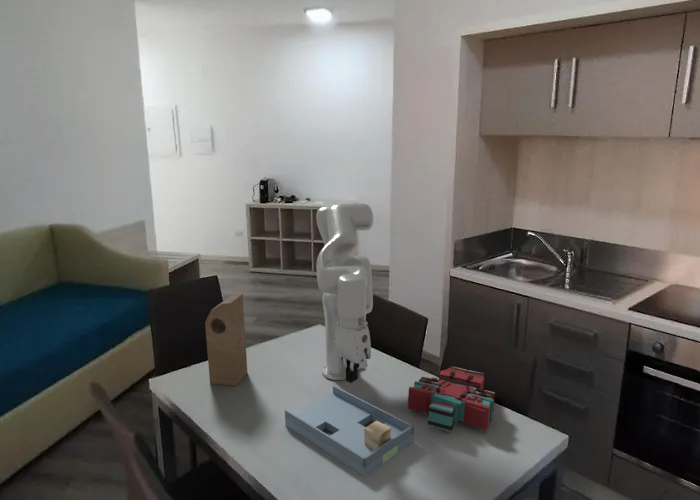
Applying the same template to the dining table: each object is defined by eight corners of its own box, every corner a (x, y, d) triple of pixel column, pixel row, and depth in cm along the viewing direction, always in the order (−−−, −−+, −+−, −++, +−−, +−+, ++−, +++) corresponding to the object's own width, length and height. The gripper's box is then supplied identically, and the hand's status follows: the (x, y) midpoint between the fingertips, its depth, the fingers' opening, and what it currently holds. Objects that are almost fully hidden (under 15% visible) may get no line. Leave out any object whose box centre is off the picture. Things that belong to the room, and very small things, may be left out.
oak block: (376, 436, 136) (376, 420, 135) (390, 444, 133) (390, 427, 131) (364, 444, 133) (364, 428, 131) (378, 452, 129) (378, 436, 128)
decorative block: (236, 386, 168) (230, 303, 161) (209, 383, 170) (203, 301, 163) (247, 372, 178) (243, 293, 171) (222, 370, 180) (216, 292, 173)
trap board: (334, 399, 160) (334, 385, 158) (413, 441, 138) (413, 425, 137) (285, 425, 146) (284, 410, 145) (364, 476, 124) (364, 459, 123)
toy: (431, 383, 172) (399, 424, 146) (432, 358, 170) (400, 395, 144) (503, 399, 161) (481, 447, 135) (505, 373, 159) (484, 416, 133)
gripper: (381, 323, 130) (380, 385, 135) (342, 308, 140) (342, 366, 145) (362, 332, 125) (362, 396, 130) (322, 315, 135) (323, 375, 140)
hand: (351, 380), depth 137 cm, fingers closed
